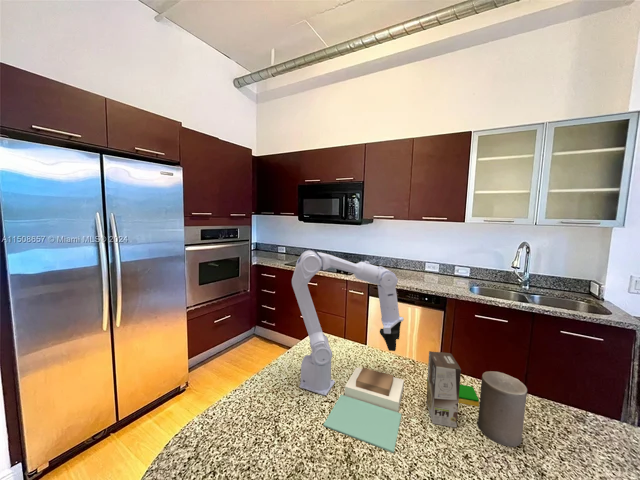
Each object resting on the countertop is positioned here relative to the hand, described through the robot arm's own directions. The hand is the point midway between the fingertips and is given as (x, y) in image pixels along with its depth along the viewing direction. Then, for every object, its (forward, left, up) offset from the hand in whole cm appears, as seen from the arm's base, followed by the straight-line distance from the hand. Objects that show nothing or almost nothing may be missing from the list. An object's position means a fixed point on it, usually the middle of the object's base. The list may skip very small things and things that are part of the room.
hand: (394, 344), depth 88 cm
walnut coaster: (-4, -8, -10) cm, 14 cm away
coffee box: (+15, -9, -14) cm, 22 cm away
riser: (-4, -8, -13) cm, 16 cm away
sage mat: (-4, -21, -13) cm, 25 cm away
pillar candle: (+29, -9, -14) cm, 33 cm away
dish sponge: (+18, +2, -14) cm, 23 cm away
